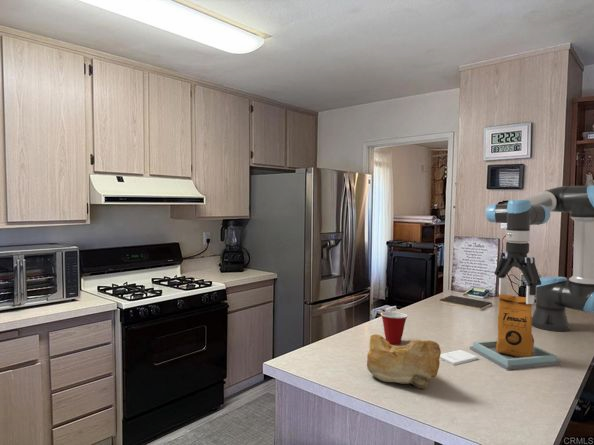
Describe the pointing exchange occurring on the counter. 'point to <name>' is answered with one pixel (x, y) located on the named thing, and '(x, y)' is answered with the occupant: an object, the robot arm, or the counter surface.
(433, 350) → the rough brown rock
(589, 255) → the robot arm
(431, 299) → the counter surface
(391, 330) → the plastic cup
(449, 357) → the external hard drive
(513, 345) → the coffee package
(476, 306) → the hardcover book
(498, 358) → the base
